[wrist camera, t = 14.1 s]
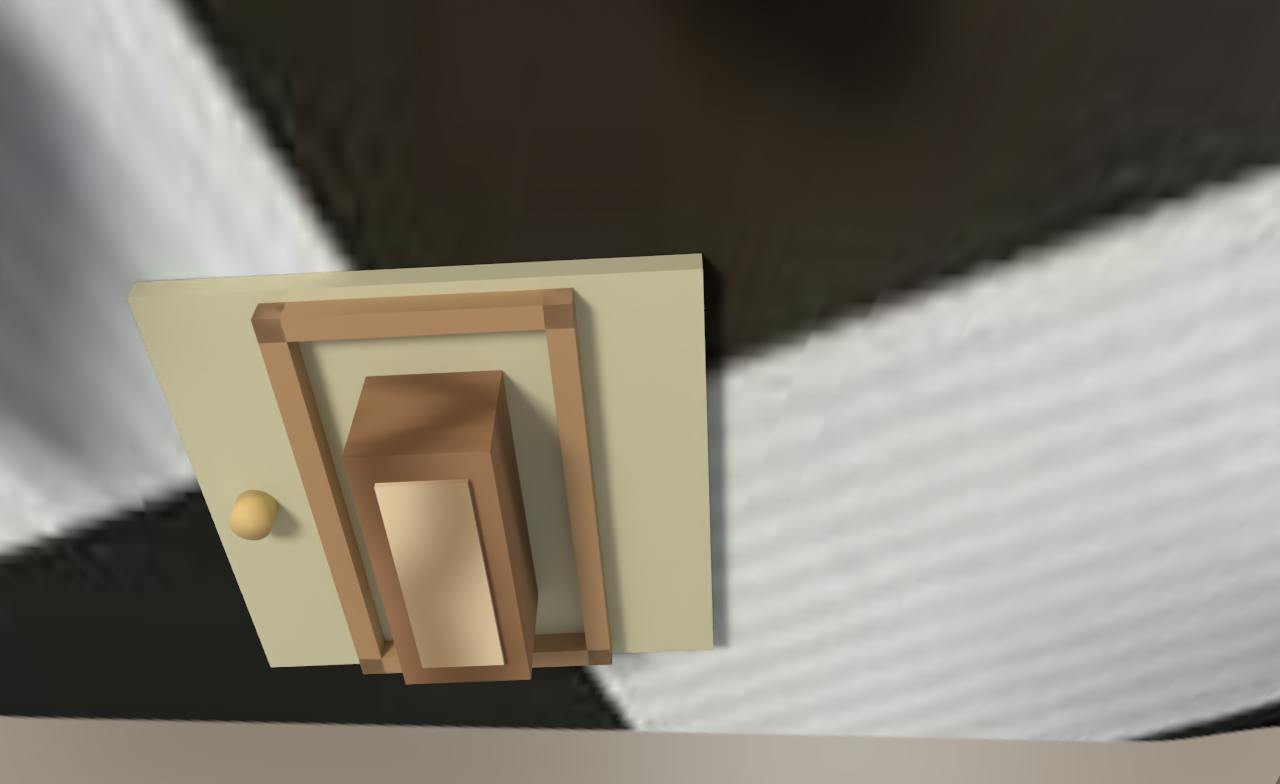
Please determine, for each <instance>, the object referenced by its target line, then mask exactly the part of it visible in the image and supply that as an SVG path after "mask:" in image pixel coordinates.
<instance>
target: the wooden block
mask: <svg viewBox="0 0 1280 784" xmlns="http://www.w3.org/2000/svg"><path fill="white" fill-rule="evenodd" d="M342 461H343V465H344V468H345V472H346V475H347V479H348V483H349V486H350V490H351V493H352V497H353V500H354V504H355V507H356V511H357V514H358V518H359V521H360V525H361V528H362V532H363V535H364V539H365V542H366V546H367V549H368V553H369V556H370V560H371V563H372V567H373V570H374V574H375V577H376V581H377V584H378V588H379V591H380V595H381V598H382V602H383V605H384V609H385V612H386V616H387V620H388V623H389V627H390V630H391V634H392V637H393V641H394V644H395V648H396V651H397V655H398V658H399V662H400V665H401V669H402V672H403V676H404V679H405V683H406V684H425V683H451V682H477V681H502V680H528V679H531V673H532V661H533V650H534V638H535V626H536V615H537V603H538V589H537V583H536V577H535V571H534V564H533V558H532V552H531V546H530V540H529V534H528V527H527V521H526V515H525V509H524V503H523V497H522V490H521V484H520V478H519V472H518V466H517V460H516V453H515V447H514V441H513V435H512V429H511V423H510V416H509V410H508V404H507V398H506V392H505V385H504V379H503V373H502V370H491V371H470V372H449V373H428V374H407V375H386V376H366V378H365V381H364V384H363V388H362V391H361V394H360V398H359V401H358V404H357V408H356V411H355V414H354V418H353V421H352V424H351V428H350V431H349V435H348V438H347V441H346V445H345V448H344V451H343V455H342Z"/></svg>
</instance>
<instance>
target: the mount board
mask: <svg viewBox="0 0 1280 784" xmlns="http://www.w3.org/2000/svg"><path fill="white" fill-rule="evenodd" d="M126 298H127V301H128V304H129V306H130V309H131V311H132V314H133V316H134V319H135V321H136V324H137V327H138V329H139V332H140V334H141V337H142V339H143V342H144V344H145V347H146V350H147V352H148V355H149V357H150V360H151V362H152V365H153V367H154V370H155V373H156V375H157V378H158V380H159V383H160V385H161V388H162V390H163V393H164V396H165V398H166V401H167V403H168V406H169V408H170V411H171V413H172V416H173V418H174V421H175V424H176V426H177V429H178V431H179V434H180V436H181V439H182V441H183V444H184V447H185V449H186V452H187V454H188V457H189V459H190V462H191V464H192V467H193V470H194V472H195V475H196V477H197V480H198V482H199V485H200V487H201V490H202V493H203V495H204V498H205V500H206V503H207V505H208V508H209V510H210V513H211V516H212V518H213V521H214V523H215V526H216V528H217V531H218V533H219V536H220V539H221V541H222V544H223V546H224V549H225V551H226V554H227V556H228V559H229V561H230V564H231V567H232V569H233V572H234V574H235V577H236V579H237V582H238V584H239V587H240V590H241V592H242V595H243V597H244V600H245V602H246V605H247V607H248V610H249V613H250V615H251V618H252V620H253V623H254V625H255V628H256V630H257V633H258V636H259V638H260V641H261V643H262V646H263V648H264V651H265V653H266V656H267V659H268V661H269V664H270V666H271V667H289V666H314V665H339V664H360V666H361V669H362V672H363V674H379V673H403V672H402V669H401V665H400V662H399V658H398V655H397V651H396V648H395V644H394V641H393V637H392V634H391V630H390V627H389V623H388V620H387V616H386V612H385V609H384V605H383V602H382V598H381V595H380V591H379V588H378V584H377V581H376V577H375V574H374V570H373V567H372V563H371V560H370V556H369V553H368V549H367V546H366V542H365V539H364V535H363V532H362V528H361V525H360V521H359V518H358V514H357V511H356V507H355V504H354V500H353V497H352V493H351V490H350V486H349V483H348V479H347V475H346V472H345V468H344V465H343V461H342V455H343V451H344V448H345V445H346V441H347V438H348V435H349V431H350V428H351V424H352V421H353V418H354V414H355V411H356V408H357V404H358V401H359V398H360V394H361V391H362V388H363V384H364V381H365V378H366V376H386V375H407V374H428V373H449V372H470V371H491V370H502V373H503V379H504V385H505V392H506V398H507V404H508V410H509V416H510V423H511V429H512V435H513V441H514V447H515V453H516V460H517V466H518V472H519V478H520V484H521V490H522V497H523V503H524V509H525V515H526V521H527V527H528V534H529V540H530V546H531V552H532V558H533V564H534V571H535V577H536V583H537V589H538V603H537V615H536V626H535V638H534V650H533V661H532V668H533V667H558V666H584V665H609V664H612V654H618V653H643V652H669V651H694V650H713V617H712V580H711V544H710V508H709V471H708V435H707V399H706V362H705V326H704V290H703V264H702V254H684V255H664V256H644V257H624V258H604V259H584V260H565V261H545V262H525V263H505V264H485V265H465V266H446V267H426V268H406V269H386V270H366V271H346V272H326V273H307V274H287V275H267V276H247V277H227V278H207V279H188V280H168V281H148V282H136V283H135V284H134V286H133V288H132V289H131V291H130V292H129V294H128V296H127V297H126Z"/></svg>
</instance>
